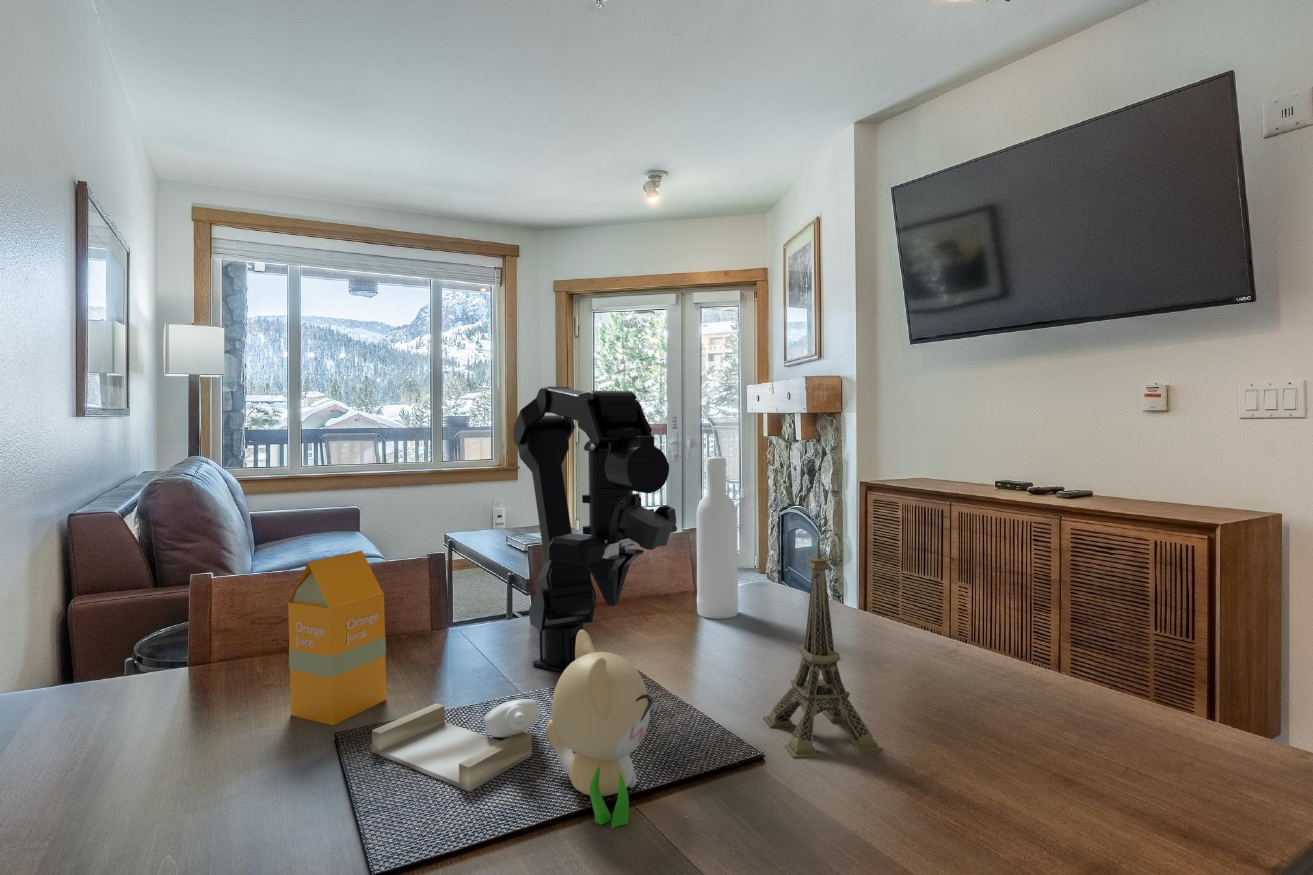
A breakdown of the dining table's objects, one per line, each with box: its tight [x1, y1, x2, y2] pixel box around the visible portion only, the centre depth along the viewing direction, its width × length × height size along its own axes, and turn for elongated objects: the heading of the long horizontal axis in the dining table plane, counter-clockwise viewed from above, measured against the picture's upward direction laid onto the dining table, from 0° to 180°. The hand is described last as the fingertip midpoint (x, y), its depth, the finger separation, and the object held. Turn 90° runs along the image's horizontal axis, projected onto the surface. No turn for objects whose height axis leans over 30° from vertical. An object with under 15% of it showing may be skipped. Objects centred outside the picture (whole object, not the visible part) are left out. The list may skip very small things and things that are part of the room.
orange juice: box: [287, 549, 387, 726], centre depth 93 cm, size 8×9×20 cm
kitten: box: [545, 629, 653, 829], centre depth 71 cm, size 15×10×15 cm, turn 17°
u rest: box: [371, 703, 533, 792], centre depth 80 cm, size 16×9×2 cm, turn 56°
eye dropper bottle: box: [483, 698, 541, 738], centre depth 80 cm, size 4×6×12 cm
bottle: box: [696, 456, 739, 620], centre depth 135 cm, size 8×8×30 cm
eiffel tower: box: [762, 523, 884, 759], centre depth 84 cm, size 11×11×25 cm
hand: (612, 605), depth 93 cm, fingers closed
